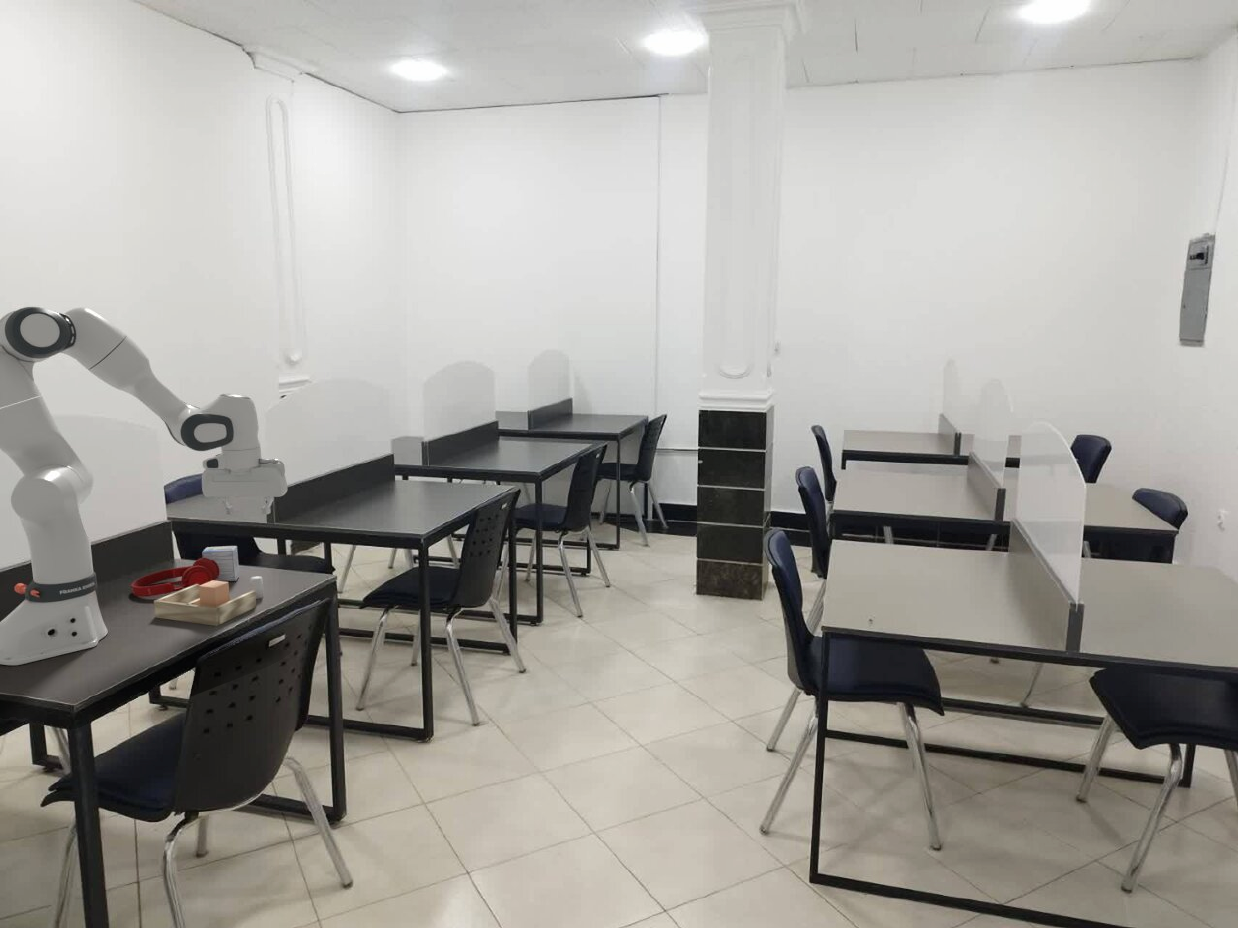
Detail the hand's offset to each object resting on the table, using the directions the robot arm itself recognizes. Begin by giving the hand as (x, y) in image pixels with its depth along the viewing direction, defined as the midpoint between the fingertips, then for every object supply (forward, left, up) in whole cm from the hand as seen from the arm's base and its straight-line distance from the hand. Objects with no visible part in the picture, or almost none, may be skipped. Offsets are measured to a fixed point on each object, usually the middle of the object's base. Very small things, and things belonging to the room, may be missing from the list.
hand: (247, 513), depth 217 cm
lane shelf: (-13, -1, -22) cm, 25 cm away
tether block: (-7, -3, -22) cm, 23 cm away
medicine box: (+4, +18, -22) cm, 29 cm away
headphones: (-8, +21, -22) cm, 31 cm away
